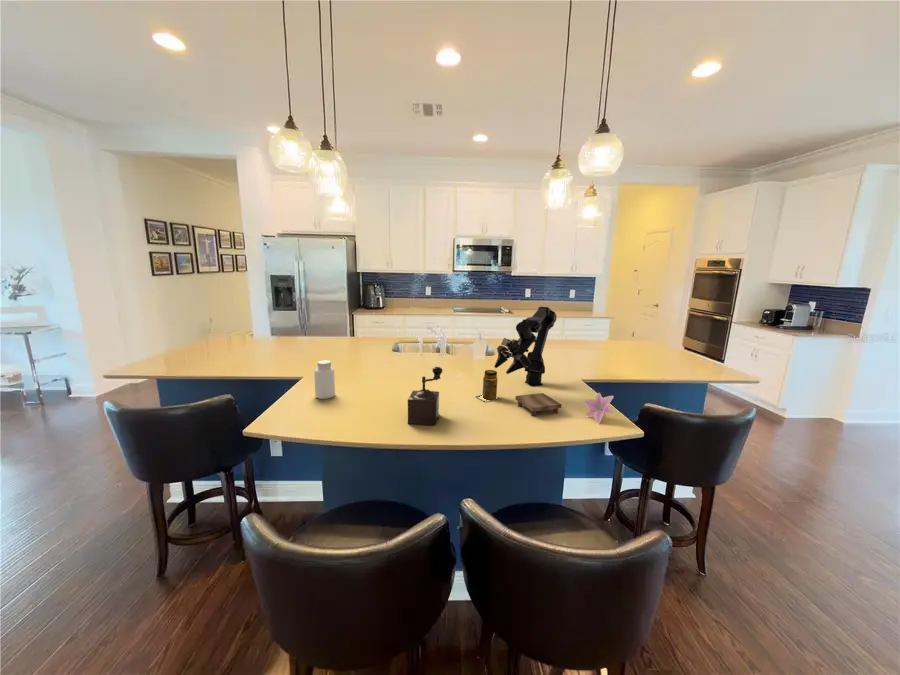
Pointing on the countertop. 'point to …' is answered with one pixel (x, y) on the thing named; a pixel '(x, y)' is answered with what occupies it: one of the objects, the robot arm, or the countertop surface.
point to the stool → (538, 403)
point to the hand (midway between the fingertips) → (500, 370)
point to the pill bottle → (324, 380)
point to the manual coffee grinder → (424, 404)
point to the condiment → (489, 385)
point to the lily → (599, 407)
